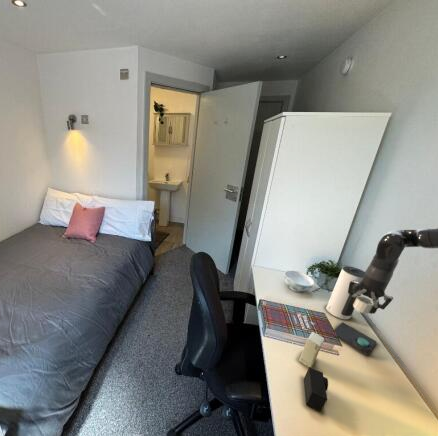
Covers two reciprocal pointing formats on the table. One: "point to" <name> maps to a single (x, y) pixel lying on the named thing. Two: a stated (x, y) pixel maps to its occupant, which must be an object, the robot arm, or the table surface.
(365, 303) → the white tape roll
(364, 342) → the tare button
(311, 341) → the cosmetic box
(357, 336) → the scale
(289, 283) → the chinaware
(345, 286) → the speaker
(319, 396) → the digital camera
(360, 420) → the table surface
